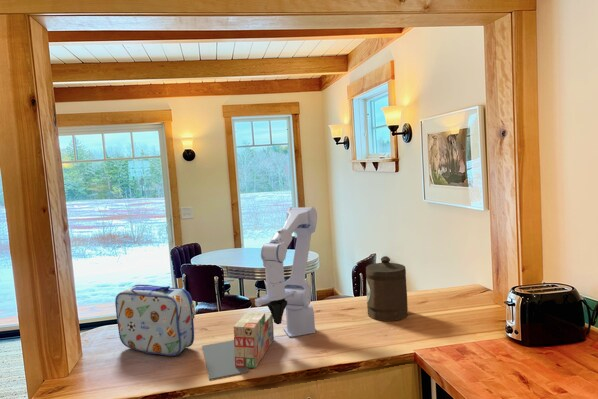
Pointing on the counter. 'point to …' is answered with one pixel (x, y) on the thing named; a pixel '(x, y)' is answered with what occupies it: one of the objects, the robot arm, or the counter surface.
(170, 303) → the lunch box
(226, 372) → the mat
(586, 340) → the counter surface
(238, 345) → the stack of blocks
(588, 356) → the counter surface
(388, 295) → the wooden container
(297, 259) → the robot arm
